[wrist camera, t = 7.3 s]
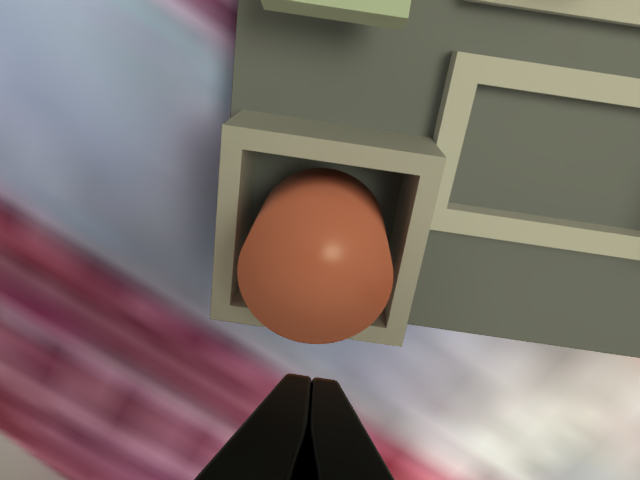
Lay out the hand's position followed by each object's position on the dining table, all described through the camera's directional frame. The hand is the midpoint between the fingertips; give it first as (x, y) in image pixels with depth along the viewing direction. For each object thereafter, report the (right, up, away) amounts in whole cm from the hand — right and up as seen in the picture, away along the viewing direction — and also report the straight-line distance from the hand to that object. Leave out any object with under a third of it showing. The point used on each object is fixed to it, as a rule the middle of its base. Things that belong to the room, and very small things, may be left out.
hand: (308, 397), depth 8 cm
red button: (0, +3, +8) cm, 8 cm away
